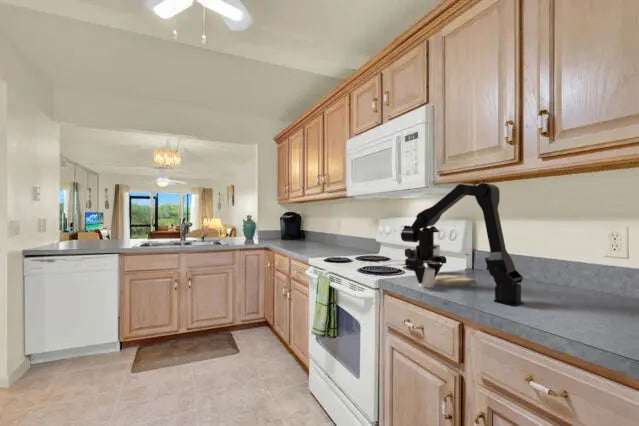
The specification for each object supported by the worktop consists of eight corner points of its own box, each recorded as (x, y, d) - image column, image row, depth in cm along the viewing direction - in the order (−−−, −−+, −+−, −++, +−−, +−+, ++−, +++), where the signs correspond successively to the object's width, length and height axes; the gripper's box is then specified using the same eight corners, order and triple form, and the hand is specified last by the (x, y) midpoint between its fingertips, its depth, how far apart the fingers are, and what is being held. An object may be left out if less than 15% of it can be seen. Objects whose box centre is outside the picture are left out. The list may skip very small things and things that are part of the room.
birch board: (475, 282, 133) (475, 279, 133) (455, 286, 125) (455, 283, 125) (445, 276, 145) (445, 274, 145) (426, 280, 137) (426, 277, 137)
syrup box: (424, 272, 156) (424, 243, 156) (436, 272, 156) (436, 243, 156) (427, 274, 151) (427, 244, 151) (440, 274, 150) (440, 244, 150)
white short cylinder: (432, 288, 121) (432, 270, 121) (414, 286, 125) (414, 268, 126) (437, 285, 127) (437, 268, 127) (420, 283, 131) (420, 266, 131)
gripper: (424, 240, 138) (424, 276, 138) (394, 242, 128) (394, 281, 128) (447, 242, 129) (447, 280, 129) (416, 245, 119) (416, 286, 118)
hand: (426, 282), depth 126 cm, fingers open, 7 cm apart
